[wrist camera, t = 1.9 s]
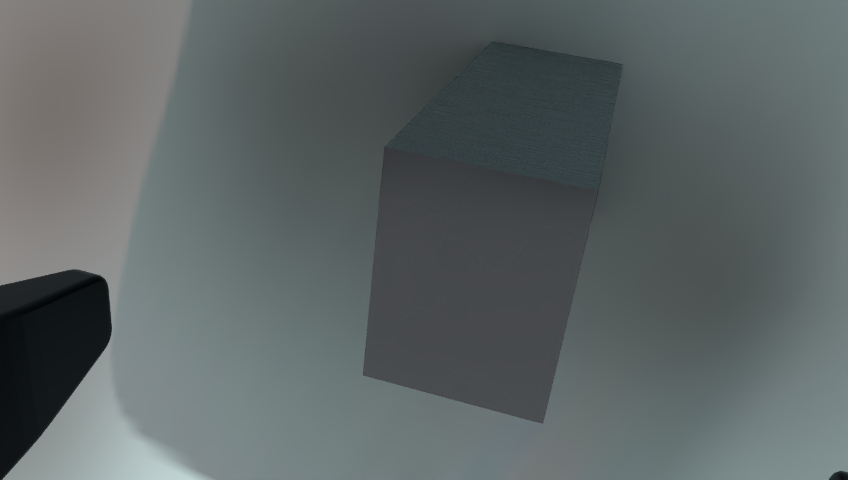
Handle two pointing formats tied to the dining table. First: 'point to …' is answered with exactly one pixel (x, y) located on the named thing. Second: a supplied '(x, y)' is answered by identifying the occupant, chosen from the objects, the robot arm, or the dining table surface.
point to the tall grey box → (489, 228)
